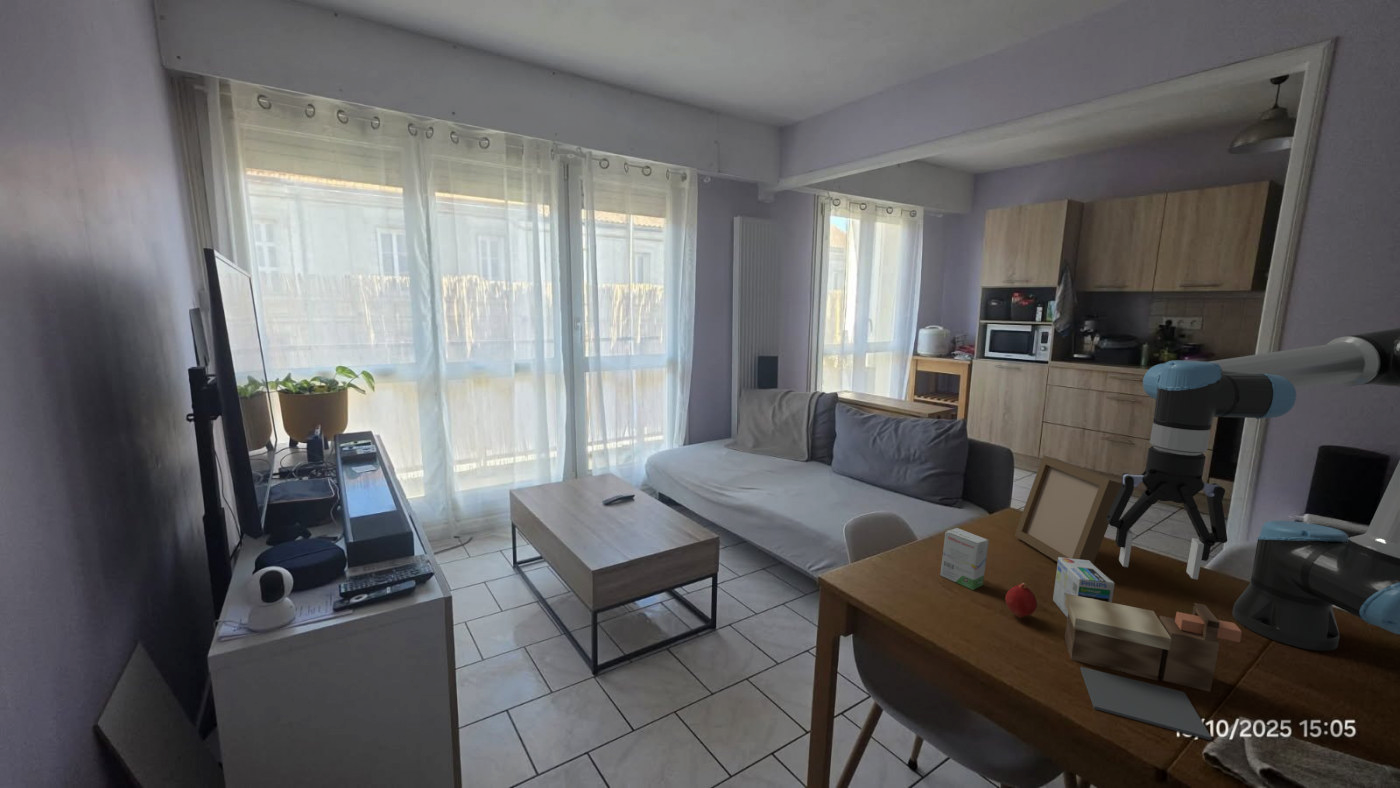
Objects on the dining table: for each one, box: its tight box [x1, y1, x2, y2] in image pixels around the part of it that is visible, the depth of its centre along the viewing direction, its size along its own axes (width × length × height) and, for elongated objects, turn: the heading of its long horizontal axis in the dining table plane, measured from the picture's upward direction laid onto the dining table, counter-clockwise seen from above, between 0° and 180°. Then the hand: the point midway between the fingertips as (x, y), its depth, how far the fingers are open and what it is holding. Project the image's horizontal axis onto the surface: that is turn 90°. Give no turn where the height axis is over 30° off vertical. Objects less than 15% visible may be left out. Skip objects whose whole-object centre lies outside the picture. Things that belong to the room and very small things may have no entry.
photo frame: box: [1014, 455, 1122, 565], centre depth 143 cm, size 15×22×25 cm
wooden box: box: [1064, 602, 1221, 692], centre depth 100 cm, size 20×7×13 cm, turn 65°
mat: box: [1080, 666, 1213, 741], centre depth 91 cm, size 15×11×1 cm
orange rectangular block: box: [1174, 611, 1243, 643], centre depth 95 cm, size 8×3×2 cm, turn 65°
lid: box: [1065, 594, 1171, 650], centre depth 101 cm, size 14×10×2 cm
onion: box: [1004, 582, 1038, 619], centre depth 115 cm, size 6×6×8 cm
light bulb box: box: [1052, 557, 1115, 618], centre depth 116 cm, size 11×7×11 cm, turn 168°
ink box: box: [939, 527, 990, 591], centre depth 130 cm, size 9×5×12 cm, turn 34°
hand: (1156, 569), depth 97 cm, fingers open, 9 cm apart
